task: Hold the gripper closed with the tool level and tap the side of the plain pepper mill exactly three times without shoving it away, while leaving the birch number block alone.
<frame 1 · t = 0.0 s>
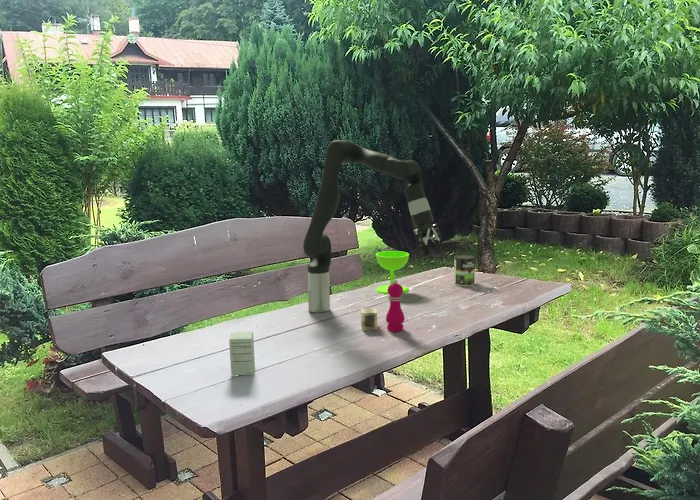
hand: (433, 253, 228), 31 cm above the table, tool tilted 20°, fingers open, 8 cm apart
coffee can: (464, 284, 309), on the table
pepper mill: (395, 329, 241), on the table
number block: (369, 327, 244), on the table
wineglass: (392, 290, 299), on the table
supplement box: (243, 372, 201), on the table
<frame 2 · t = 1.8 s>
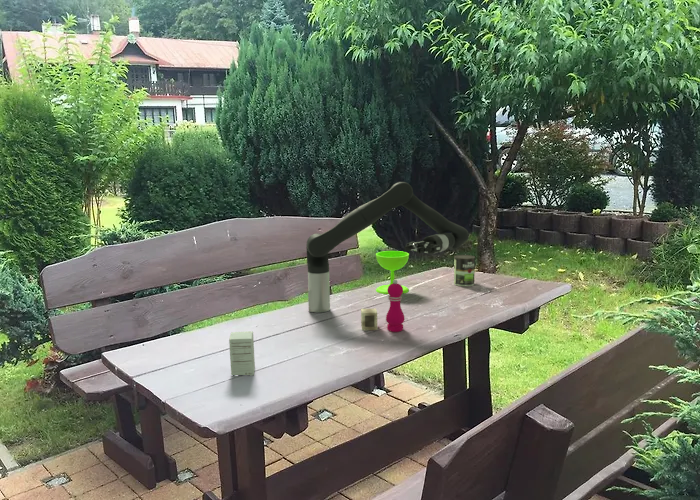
hand: (411, 250, 243), 30 cm above the table, tool horizontal, fingers open, 5 cm apart
nothing on the table moved.
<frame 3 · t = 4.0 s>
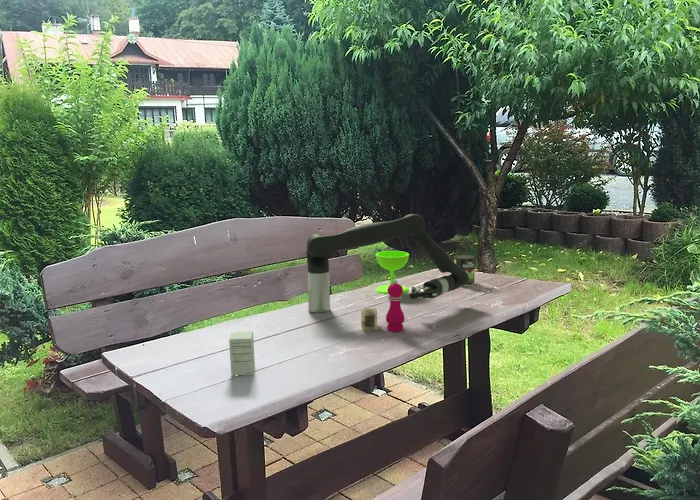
hand: (411, 296, 246), 11 cm above the table, tool horizontal, fingers closed
nothing on the table moved.
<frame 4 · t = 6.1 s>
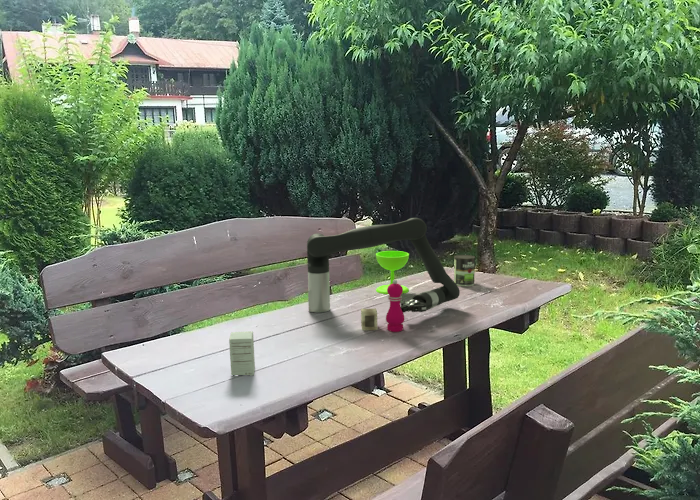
hand: (400, 310, 242), 7 cm above the table, tool horizontal, fingers closed
pepper mill: (395, 329, 241), on the table, touching gripper
everything else where it was.
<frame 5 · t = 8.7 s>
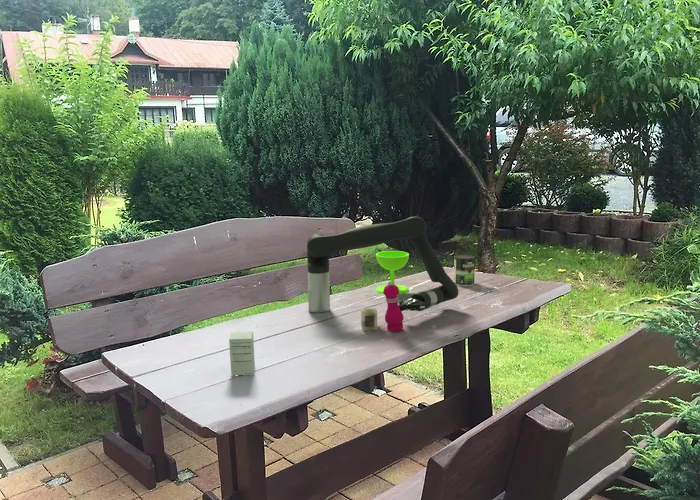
hand: (398, 308, 241), 8 cm above the table, tool horizontal, fingers closed
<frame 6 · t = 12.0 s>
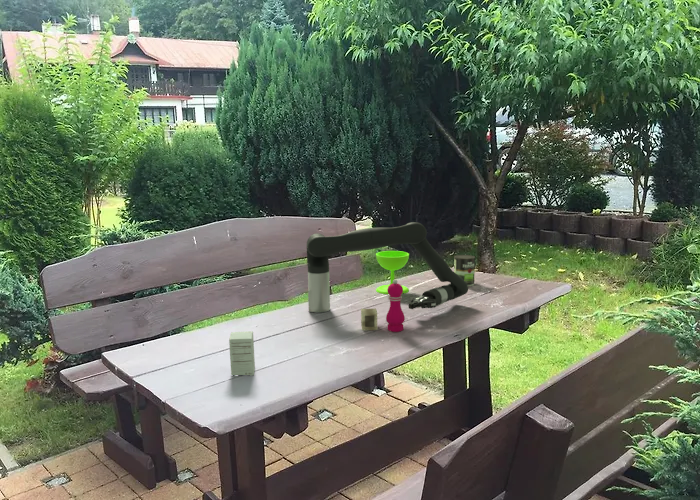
hand: (410, 306, 247), 7 cm above the table, tool horizontal, fingers closed
pepper mill: (395, 329, 241), on the table
everything else where it was.
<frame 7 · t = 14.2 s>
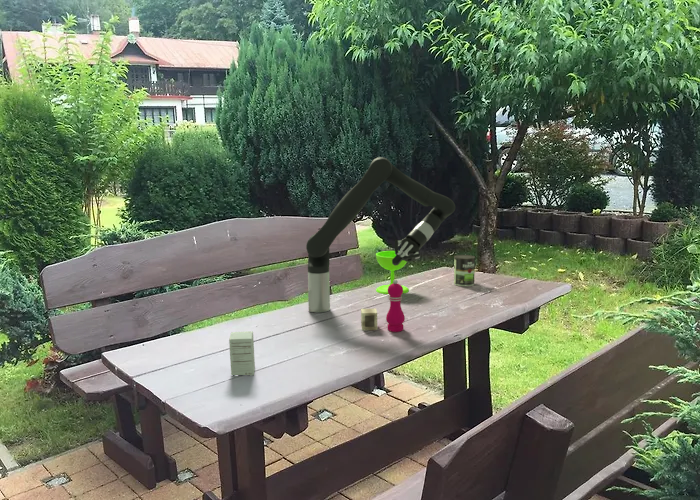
hand: (393, 263, 246), 24 cm above the table, tool tilted 55°, fingers closed
nothing on the table moved.
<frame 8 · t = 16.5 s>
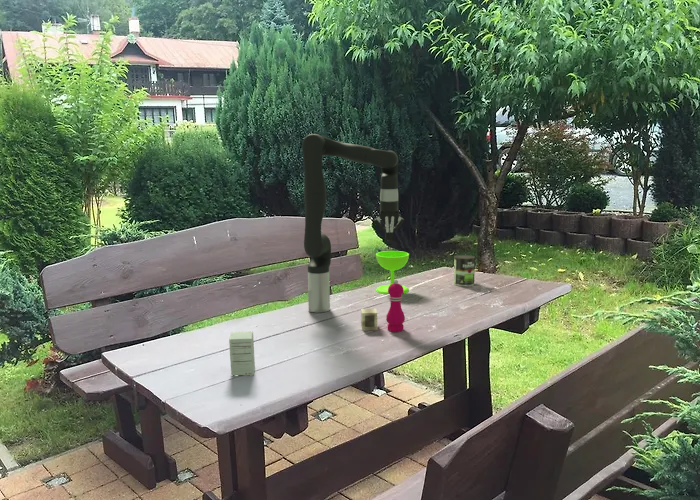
hand: (389, 240, 258), 31 cm above the table, tool pointing down, fingers closed
nothing on the table moved.
at the end: pepper mill moved 0.2 cm from its start; pepper mill tilted 1°; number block moved 0.1 cm from its start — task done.
